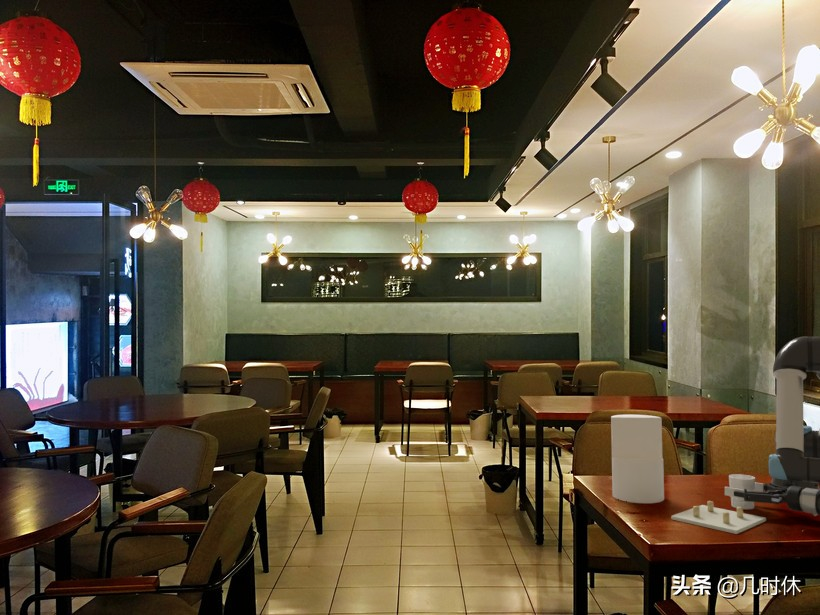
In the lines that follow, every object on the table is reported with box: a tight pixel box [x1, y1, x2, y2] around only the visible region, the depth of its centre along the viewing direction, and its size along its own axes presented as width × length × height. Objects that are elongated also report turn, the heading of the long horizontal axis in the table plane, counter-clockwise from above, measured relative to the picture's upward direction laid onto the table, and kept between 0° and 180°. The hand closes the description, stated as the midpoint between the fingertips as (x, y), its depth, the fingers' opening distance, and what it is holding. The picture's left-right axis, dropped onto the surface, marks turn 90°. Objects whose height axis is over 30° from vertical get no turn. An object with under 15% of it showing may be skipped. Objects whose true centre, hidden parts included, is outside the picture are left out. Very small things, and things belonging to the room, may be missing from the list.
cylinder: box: [610, 414, 665, 504], centre depth 233 cm, size 17×17×28 cm
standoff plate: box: [670, 500, 767, 535], centre depth 204 cm, size 20×20×4 cm
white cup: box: [728, 473, 756, 510], centre depth 219 cm, size 8×8×10 cm
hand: (734, 487), depth 220 cm, fingers open, 13 cm apart
